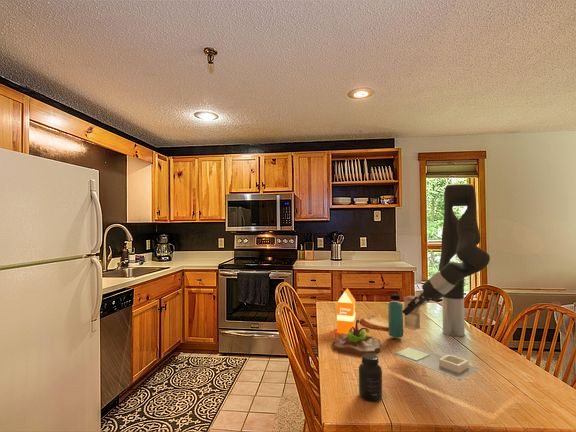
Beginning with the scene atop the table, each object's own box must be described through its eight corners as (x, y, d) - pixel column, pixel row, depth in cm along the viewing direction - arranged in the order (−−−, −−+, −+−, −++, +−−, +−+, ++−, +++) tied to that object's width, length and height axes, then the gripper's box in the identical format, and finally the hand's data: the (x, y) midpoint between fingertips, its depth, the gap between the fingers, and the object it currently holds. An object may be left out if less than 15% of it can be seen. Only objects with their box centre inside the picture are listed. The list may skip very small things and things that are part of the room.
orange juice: (355, 328, 158) (355, 288, 159) (353, 334, 150) (353, 291, 151) (339, 327, 161) (339, 287, 162) (336, 332, 153) (336, 290, 153)
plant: (385, 343, 140) (385, 317, 140) (375, 360, 123) (375, 330, 123) (342, 336, 149) (341, 312, 149) (326, 350, 132) (326, 323, 132)
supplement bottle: (356, 390, 99) (355, 352, 99) (377, 389, 100) (377, 351, 100) (363, 403, 92) (362, 361, 93) (385, 402, 93) (385, 360, 93)
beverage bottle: (404, 341, 141) (404, 296, 141) (389, 340, 142) (388, 295, 142) (402, 336, 147) (401, 293, 148) (387, 335, 148) (387, 292, 149)
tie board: (412, 348, 133) (412, 339, 133) (479, 371, 112) (479, 361, 112) (392, 356, 125) (392, 347, 125) (459, 383, 104) (459, 372, 104)
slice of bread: (402, 331, 155) (402, 324, 155) (365, 331, 156) (365, 323, 156) (391, 320, 173) (391, 313, 173) (358, 320, 174) (358, 313, 174)
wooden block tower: (410, 325, 128) (410, 295, 128) (420, 328, 124) (419, 297, 125) (404, 327, 125) (404, 296, 126) (414, 330, 122) (413, 298, 122)
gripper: (437, 275, 125) (408, 301, 133) (423, 279, 115) (392, 307, 123) (452, 290, 121) (421, 316, 129) (439, 296, 111) (406, 324, 119)
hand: (407, 312), depth 126 cm, fingers closed on wooden block tower, 4 cm apart
